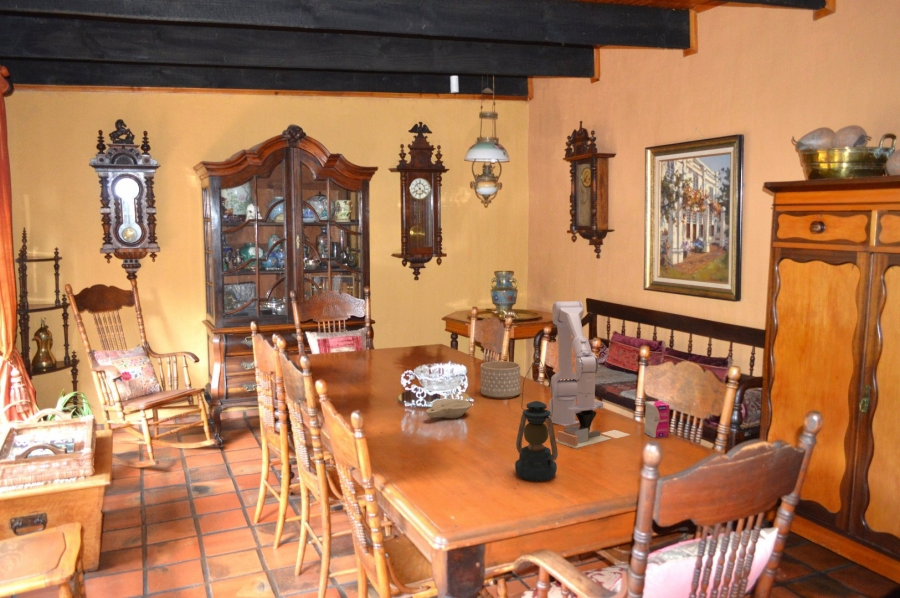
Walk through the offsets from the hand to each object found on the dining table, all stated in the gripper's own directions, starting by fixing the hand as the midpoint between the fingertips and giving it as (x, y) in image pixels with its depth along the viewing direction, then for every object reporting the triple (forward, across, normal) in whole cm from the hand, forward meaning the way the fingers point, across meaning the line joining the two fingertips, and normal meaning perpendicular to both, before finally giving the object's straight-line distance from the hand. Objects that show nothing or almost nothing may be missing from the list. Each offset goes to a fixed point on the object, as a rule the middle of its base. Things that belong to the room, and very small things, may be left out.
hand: (585, 432), depth 242 cm
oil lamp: (+3, -20, +50) cm, 54 cm away
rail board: (+3, 0, 0) cm, 3 cm away
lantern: (+3, -36, -15) cm, 39 cm away
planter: (+3, +18, +65) cm, 67 cm away
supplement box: (+3, +22, -11) cm, 25 cm away
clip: (+2, -4, 0) cm, 5 cm away
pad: (+3, +12, -2) cm, 13 cm away
